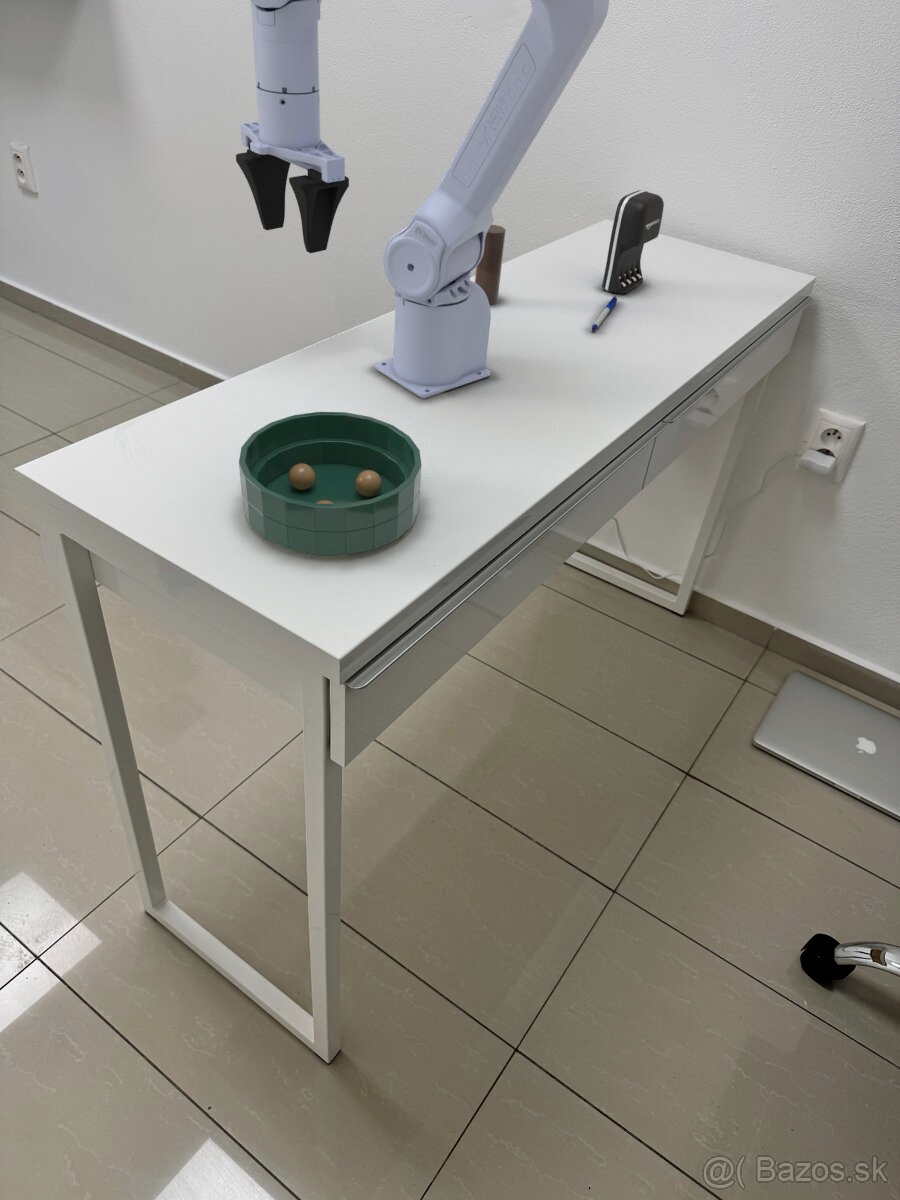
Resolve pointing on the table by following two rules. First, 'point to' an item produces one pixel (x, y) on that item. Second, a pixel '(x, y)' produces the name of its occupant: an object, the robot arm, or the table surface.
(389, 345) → the table surface
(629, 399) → the table surface
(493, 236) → the brown wooden cylinder
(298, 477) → the bead
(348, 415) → the bowl
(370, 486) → the bead
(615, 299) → the ballpoint pen
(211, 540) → the table surface
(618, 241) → the battery charger
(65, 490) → the table surface
